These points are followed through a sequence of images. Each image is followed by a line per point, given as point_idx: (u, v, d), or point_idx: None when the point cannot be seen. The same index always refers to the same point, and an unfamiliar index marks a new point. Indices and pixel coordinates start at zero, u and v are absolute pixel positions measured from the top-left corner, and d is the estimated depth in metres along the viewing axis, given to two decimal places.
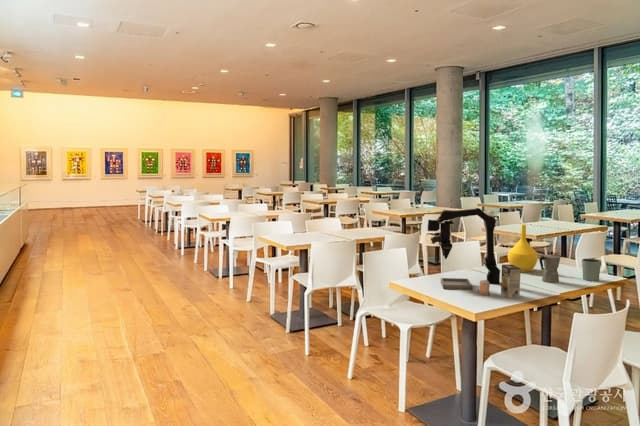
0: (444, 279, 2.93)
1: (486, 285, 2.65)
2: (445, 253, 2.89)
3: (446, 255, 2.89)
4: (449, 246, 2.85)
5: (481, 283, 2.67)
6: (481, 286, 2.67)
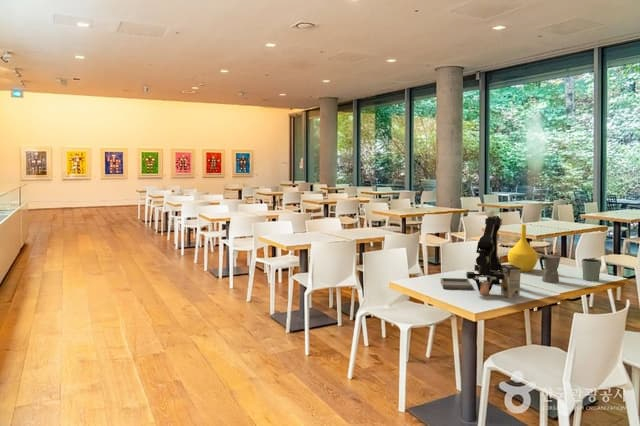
0: (444, 279, 2.93)
1: (486, 285, 2.65)
2: (477, 284, 2.69)
3: None
4: (467, 276, 2.67)
5: (481, 283, 2.67)
6: (481, 286, 2.67)
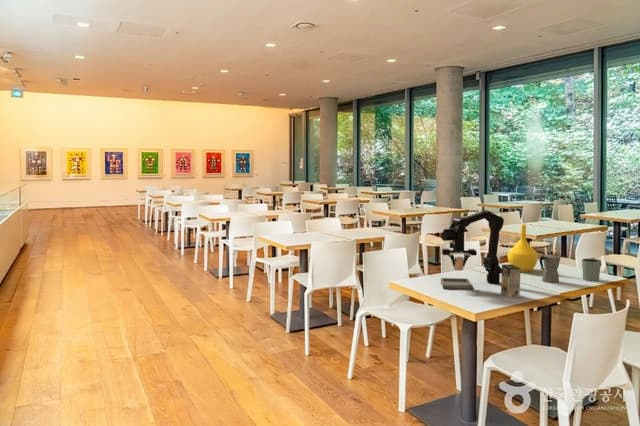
0: (444, 279, 2.93)
1: (460, 261, 2.80)
2: None
3: (452, 263, 2.83)
4: (442, 253, 2.82)
5: (455, 259, 2.81)
6: (455, 262, 2.81)
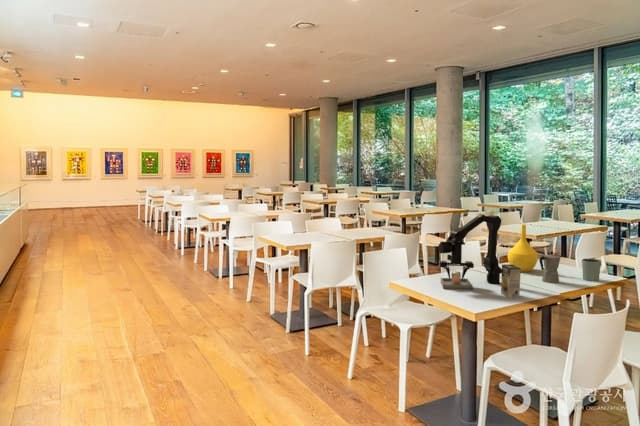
0: (444, 279, 2.93)
1: (457, 276, 2.83)
2: None
3: (448, 275, 2.86)
4: (439, 265, 2.84)
5: (453, 274, 2.84)
6: (453, 277, 2.84)
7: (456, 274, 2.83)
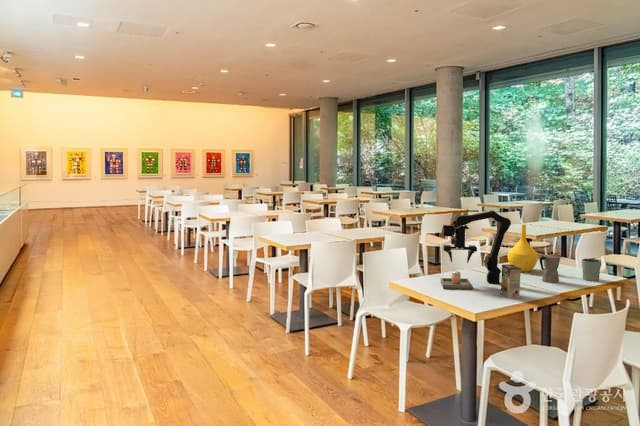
0: (444, 279, 2.93)
1: (457, 276, 2.83)
2: (449, 256, 2.93)
3: (450, 259, 2.92)
4: (443, 249, 2.91)
5: (453, 274, 2.84)
6: (453, 277, 2.84)
7: (456, 274, 2.83)
